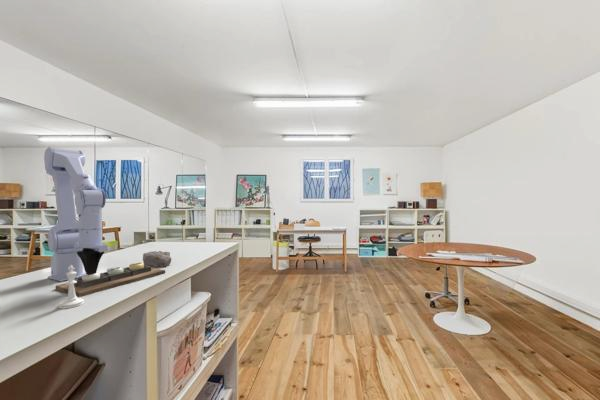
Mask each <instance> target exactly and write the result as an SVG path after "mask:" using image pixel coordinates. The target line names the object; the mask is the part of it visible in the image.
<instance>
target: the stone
mask: <svg viewBox="0 0 600 400" xmlns="http://www.w3.org/2000/svg"><path fill="white" fill-rule="evenodd" d="M142 261H143V262H142V263H144V265H146V266H151V268H159V267H160V268H161V267H168V266H170V265H171V262H172V257H171V252H169V251H162V250H158V251H157V250H154V251H149V252H144V253H143V254H142Z"/></svg>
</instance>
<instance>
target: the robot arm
mask: <svg viewBox="0 0 600 400" xmlns="http://www.w3.org/2000/svg"><path fill="white" fill-rule="evenodd" d="M85 155H86V154H85V153H84V151H82V150H74V149H66V148H65V149H64V148H55V147H51V146H48V147H47V148H46V149H45V151H44V156H43V160H44V161H43V162H44V169H45V172H46V174H47V175H49V176H51V177H52V180H53V184H54V186H53V187H54V192H55V193H54V194H55V203H56V211H57V214H56V215H57V222H58V223H57V224H55V225H54V226H52V227H51V228H50V229H49V231H48V233H47V234H48V235H47V236H48V239H47V245H48V246H47V247H48V249H49V250H50V251H51V253H53V255H52V256H51V257H50V275H48V276H47V279H51V280H54V281H58V282H64V281H69V280H68V277H67V275H66V274H67V273H68V272H70V270H68V268H69V267H70V265H73V268H75V269H74V270H73V271H74V272H77V273H76V276H75V279H77V278H82V275H83V274H88V275H90V274H94V273H96V272H98V268H99V264H100V260H101V259H102V256H103V255H104V254H105V252H108V251H109V250H108V249H109V247H108V246H109V245H108V244H105V243H104V242H103V208H104V207H106V202H107V199H106V198H107V197H106V193H105V191H104V189H101V188H99V187H97V185H96V183H95V181H94V180H93V178H92V176H91V175H89V174H87V173H86V171H85V170H84V166H85V163H86V156H85ZM76 214H77V215H78V216H77V215H76ZM77 218H78V221H77Z"/></svg>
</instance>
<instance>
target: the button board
mask: <svg viewBox="0 0 600 400" xmlns="http://www.w3.org/2000/svg"><path fill="white" fill-rule="evenodd" d="M123 269H124V273H119V274H115V275H108V274H107V271H105V272H100V278H98V279H94V280H90V281H82V277H79V278H75V279H74V281H77V283H74V288H75V294H76V297H82V296H86V295H90V294H94V293H98V292H102V291H104V290H110V289H113V288H116V287H120V286H123V285H126V284H131V283H134V282H138V281H141V280H146V279H150V278H153V277H156V276H159V275H163V274H166V269H160V268H156V267H151V266H146V265H144V268H140V269H136V270H131V269H129V266H127V267H123ZM55 290H58V291H61V292H64V293H67V294H68V291H69V284H66V283H61V284H57V285H55Z"/></svg>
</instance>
